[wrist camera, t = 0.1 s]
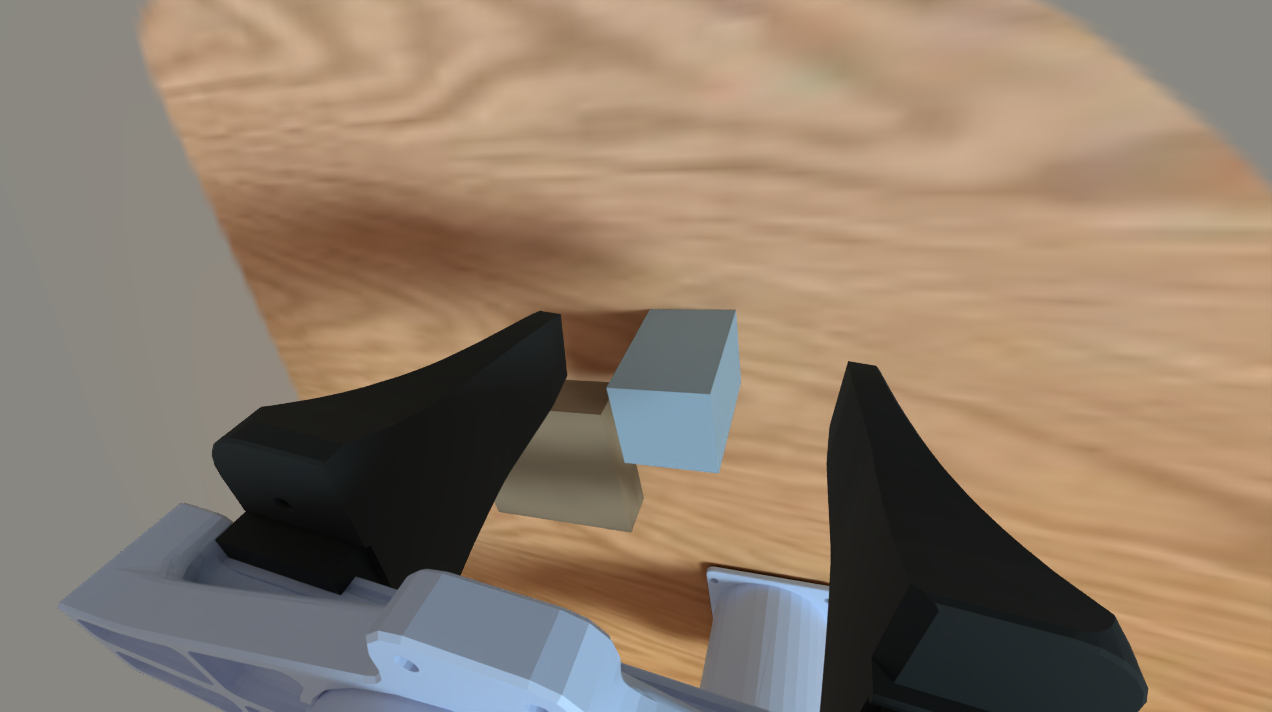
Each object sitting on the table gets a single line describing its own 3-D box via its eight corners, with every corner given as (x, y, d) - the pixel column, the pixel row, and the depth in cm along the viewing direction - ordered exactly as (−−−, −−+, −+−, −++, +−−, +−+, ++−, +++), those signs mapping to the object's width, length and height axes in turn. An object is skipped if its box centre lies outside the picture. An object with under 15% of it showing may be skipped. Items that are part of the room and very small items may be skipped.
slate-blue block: (741, 381, 26) (718, 473, 21) (661, 377, 27) (624, 462, 23) (736, 309, 24) (710, 394, 19) (650, 308, 25) (606, 387, 20)
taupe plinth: (645, 493, 33) (631, 532, 31) (520, 477, 36) (499, 511, 34) (620, 378, 29) (600, 414, 26) (478, 370, 32) (449, 402, 29)
